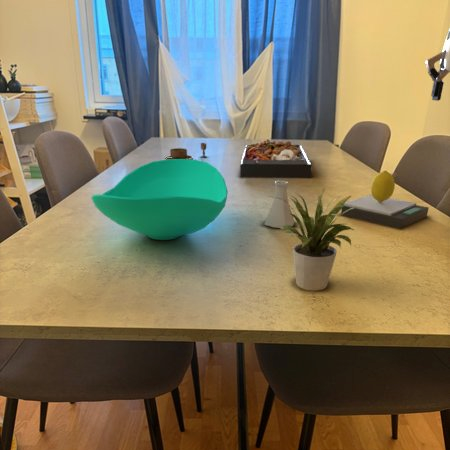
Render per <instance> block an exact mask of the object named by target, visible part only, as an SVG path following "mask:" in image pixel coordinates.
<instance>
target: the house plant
mask: <svg viewBox="0 0 450 450" xmlns="http://www.w3.org/2000/svg"><path fill="white" fill-rule="evenodd" d="M325 189H326V187H324V188H323V189H322V191H321V192H320V194H319V195H318V198H317V204H316V209H315V215H314V217H313V216H310V215H309V209H308V206H307V203H306V201H305V199H304V198H303V196H302V195H301V194H299V193H296V195H297V196H298V197H300V198H301V199H302V202H303V205H304V207H303V206H302V205H301V203H300V202H299V200H298V199H297V198H296V197H295V196H293V195H292V194H291V195H290V196H291V197H290V199H291V201H292V202H293V204H294V205H295V207H292V206H291V205H290V203H289V204H288V203H287V202H286V201H285V202H286V203H287V204H288V205H289V206H290V209H291V210H292V211H293V212H294V213H293V212H292V213H287V214H291V215H292V216H293V219H294V220H295V221H296V223H297V225H298V227H299V229H300V232H301V233H300V232H299V231H298V229H297V228H296V227H294V226H290V225H285V226H283V227H282V228H280V230H282V231H283V230H284V231H285V232H283V234H292V235H290V237H295V236H296V237H297V238H298V239H299V240H300V242H301V243H299V244H296V245H295V246H294V247H293V249H292V253H293V261H294V262H293V263H294V273H295V282H296V283H295V284H296V285H297V286H298V287H299V288H301V289H303V290H307V291H315V292H316V291H321V290H324V289H326V288H327V287H328V283H329V281H330V276H331V274H332V270H333V267H334V263H335V260H336V256H337V253H338V252H337V249H336V248H335V247H333V246H332V245H330V244H335V245H337V246H338V247H339V248H340V249H342V242H341V239H342V240H344V241H346V242H347V243H348V244H349V246H352V240H351V238H350V237H349V236H347V235H344V234H339V233H341V232H344V231H350V230H351V231H355V229H353V228H352V227H351V226H349V225H346V223H335V222H336V220H337V219H338V217H336V216H338V214H339V212H341V209H342V208H343V205H344V203H346V202H348V200H350V198H351V197H352V195H349V196H345V198H343V199H341V200H340V201H338V203H336V204H335V206H334V207H333V208H332V209H331V210H330V211H329V213H327V214H324V212H325V210H326V209H327V208H328V207H329V206H330V205H331V204H332V203H333V202H334V201H336V200H337V199H338V198H340V197H341V195H340V196H337V197H336V198H334V199H332V201H330V202H328V204H327V205H326V206H325V207H324V206H323V201H322V197H323V194H324V192H325ZM269 197H270V198H274V196H271V195H270V196H269ZM275 198H278V197H275ZM278 199H281V198H278ZM281 200H283V199H281ZM283 201H284V200H283ZM323 208H324V209H323ZM354 208H357V207H354ZM294 209H296V210H297V211H298V213H299V215H300V216H301V219H302V221H303V223H302V222H301V220H300V218H299V216H298V215H297V214H296V212H295V210H294ZM351 209H353V208H351ZM349 210H350V209H349ZM347 211H348V210H347ZM345 212H346V211H345ZM345 212H344V213H345ZM340 216H343V215H342V214H341V213H340ZM340 216H339V217H340ZM333 223H334V224H333ZM303 225H304V226H303ZM339 239H340V240H339Z"/></svg>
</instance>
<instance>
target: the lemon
mask: <svg viewBox="0 0 450 450" xmlns="http://www.w3.org/2000/svg"><path fill="white" fill-rule="evenodd" d="M395 184H396V183H395V178H394V176H393V175H392V174H391V173H389V172H388V171H387V170H383V171H381V172H379V173H377V174H376V175H375V176H374V178H373V179H372V181H371V185H370V194H371V195H372V196H373V198H374V199H376V200H377V201H378V202H379V203H382V202H383V201H385V200H387V199H389V198H391V197H392V196H393V194H394V191H395V186H396V185H395Z"/></svg>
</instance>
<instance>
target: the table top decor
mask: <svg viewBox="0 0 450 450" xmlns="http://www.w3.org/2000/svg"><path fill="white" fill-rule="evenodd" d="M228 192H229V191H228V188H227V183H226V180H225V178H224V176H223V175H222V174H221V172H220V171H219V169H217V167H215V166H213V165H212V164H210V163H209V162H206V161H203V160H199V159H193V160H191V159H167V160H165V159H161V160H154V161H151V162H149V163H146V164H143V165H140V166H138V167H136V168H135V169H133V170H132V171H130V172H129V173H127V174H125V176H124V177H122V178H121V180H120V181H119V182H117V183H116V185H115V186H114V187H112V188H111V189H109V190H107V191H105V192H103V193H102V194H93V195H92V196H91V200H92V203H93V204H94V207H95V208H96V209H97V210H98V211H99V212H100V213H102V215H103V216H105V217H107V218H108V219H110V220H111V221H113V222H114V223H116V224H117V225H118V226H121V227H124V228H126V229H128V230H131V231H133V232H136V233H139V234H142V235H144V236H146V237H148V238H150V239H152V240H156V241H159V240H160V241H169V240H170V241H171V240H175V239H178V238H180V237H182V236H187V235H191V234H194V233H197V232H199V231H201V230H203V229H204V228H206V227H207V226H209V225H211V223H212V222H214V220H216V218H217V217H218V216H219V215H220V214H221V213H222V211H223V210H224V208H225V207H226V204H227V200H228V194H229V193H228Z"/></svg>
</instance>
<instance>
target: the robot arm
mask: <svg viewBox="0 0 450 450" xmlns="http://www.w3.org/2000/svg"><path fill="white" fill-rule="evenodd" d="M437 62H439V66H438V67H439V69H438V70H437V69H436V67H435V65H436V63H437ZM425 66H426V69H427V73H428V75H429V77H430V78H431V81H432V82H433V84H432V90H431V94H430V96H431V97H432V98H431V100H432V101H436V102H438V101H441V98H442V93H443V89H444V84H445V83H444V81H443V79H444V78H445V77H447V75H448V74H449V73H450V28H449V29H448V32H447V35H446V37H445V41H444V45H443V48H442V51H441V52H439V53H437V54H435V55H434V56H432V57H429V58H428V59H427V60H426V61H425Z"/></svg>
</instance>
